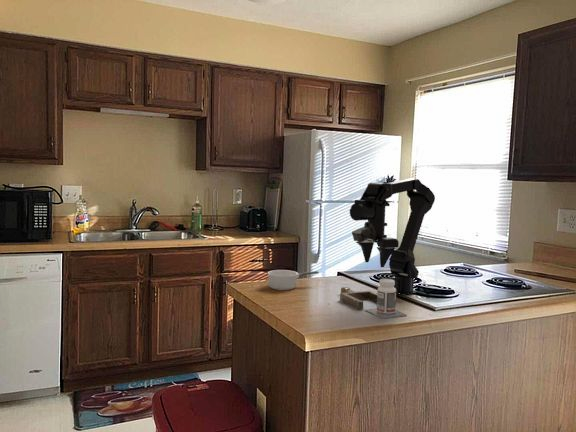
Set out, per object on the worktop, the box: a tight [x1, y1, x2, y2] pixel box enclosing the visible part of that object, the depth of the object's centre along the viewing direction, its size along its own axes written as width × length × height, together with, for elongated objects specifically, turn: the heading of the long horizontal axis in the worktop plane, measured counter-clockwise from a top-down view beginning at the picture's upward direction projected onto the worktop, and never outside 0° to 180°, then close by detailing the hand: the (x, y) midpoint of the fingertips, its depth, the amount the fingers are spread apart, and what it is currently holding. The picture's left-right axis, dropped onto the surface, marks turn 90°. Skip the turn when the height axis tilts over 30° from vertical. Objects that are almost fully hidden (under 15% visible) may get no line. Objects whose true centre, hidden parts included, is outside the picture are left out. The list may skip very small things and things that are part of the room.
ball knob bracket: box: [339, 286, 377, 310], centre depth 164 cm, size 12×20×2 cm, turn 24°
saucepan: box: [266, 269, 319, 291], centre depth 181 cm, size 12×20×6 cm, turn 109°
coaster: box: [365, 307, 408, 320], centre depth 149 cm, size 9×9×1 cm
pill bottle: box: [376, 278, 397, 314], centre depth 149 cm, size 6×6×10 cm
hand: (374, 264), depth 165 cm, fingers open, 9 cm apart
